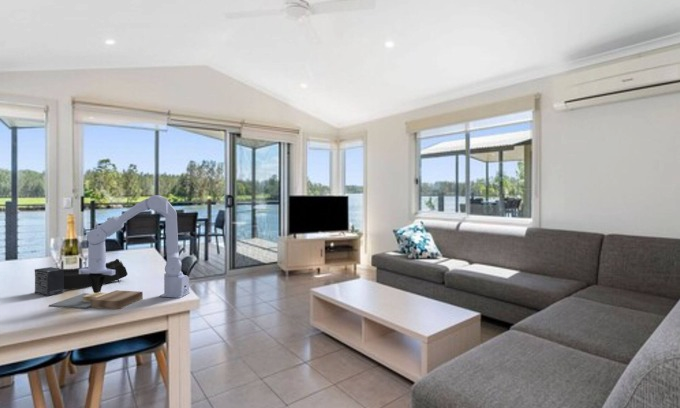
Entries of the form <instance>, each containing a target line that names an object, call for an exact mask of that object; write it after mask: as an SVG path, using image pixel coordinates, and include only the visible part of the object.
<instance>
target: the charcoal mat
mask: <svg viewBox="0 0 680 408" xmlns="http://www.w3.org/2000/svg"><path fill="white" fill-rule="evenodd" d="M88 294H90V293H87V292H86V293H81V294H78V295H75V296H72V297H69V298H66V299H63V300H59V301H57V302H53V303H50V304H49V305H48V307H54V308H55V307H56V308H57V307H58V308H69V309H70V308H71V309H89V308H91V307H90V302H84V301H82V296H85V295H88Z"/></svg>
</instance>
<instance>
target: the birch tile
mask: <svg viewBox="0 0 680 408" xmlns="http://www.w3.org/2000/svg"><path fill="white" fill-rule="evenodd" d="M108 293H109V292H98V293H94V292H91V293H89V294H88V295H85V296H82V301H84V302H90V300H91V299H94V298H96V297H99V296H102V295H105V294H108Z"/></svg>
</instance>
